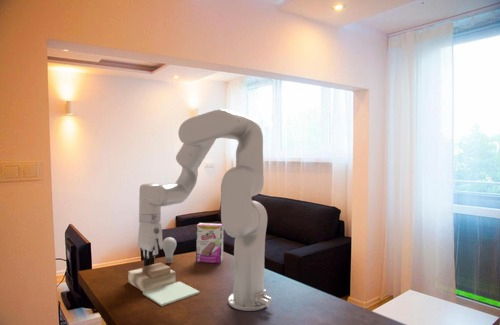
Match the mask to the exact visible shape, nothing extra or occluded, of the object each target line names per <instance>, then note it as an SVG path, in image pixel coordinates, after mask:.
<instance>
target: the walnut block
mask: <svg viewBox="0 0 500 325" xmlns="http://www.w3.org/2000/svg"><path fill="white" fill-rule="evenodd" d="M141 268H142V274H144V275H146V276H148V277H149V278H151V279H154V278H158V277H161V276H165V275H169V274H170V270H172V269H171V266H169V265H167V264H164V263H163V262H156V263H154V264H152V265H148V266H144V265H143V266H142V267H141Z"/></svg>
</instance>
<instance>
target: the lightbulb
mask: <svg viewBox="0 0 500 325" xmlns="http://www.w3.org/2000/svg"><path fill="white" fill-rule="evenodd" d="M162 243H163V246H162V250H163V252H164V255H165V256H164V257H165V263H167V264H171V263H172V262H173V256H174V252H175V251H176V248H177V240H176V239H175V238H174V237H171V236H169V237H166V238H164V239H162Z"/></svg>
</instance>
